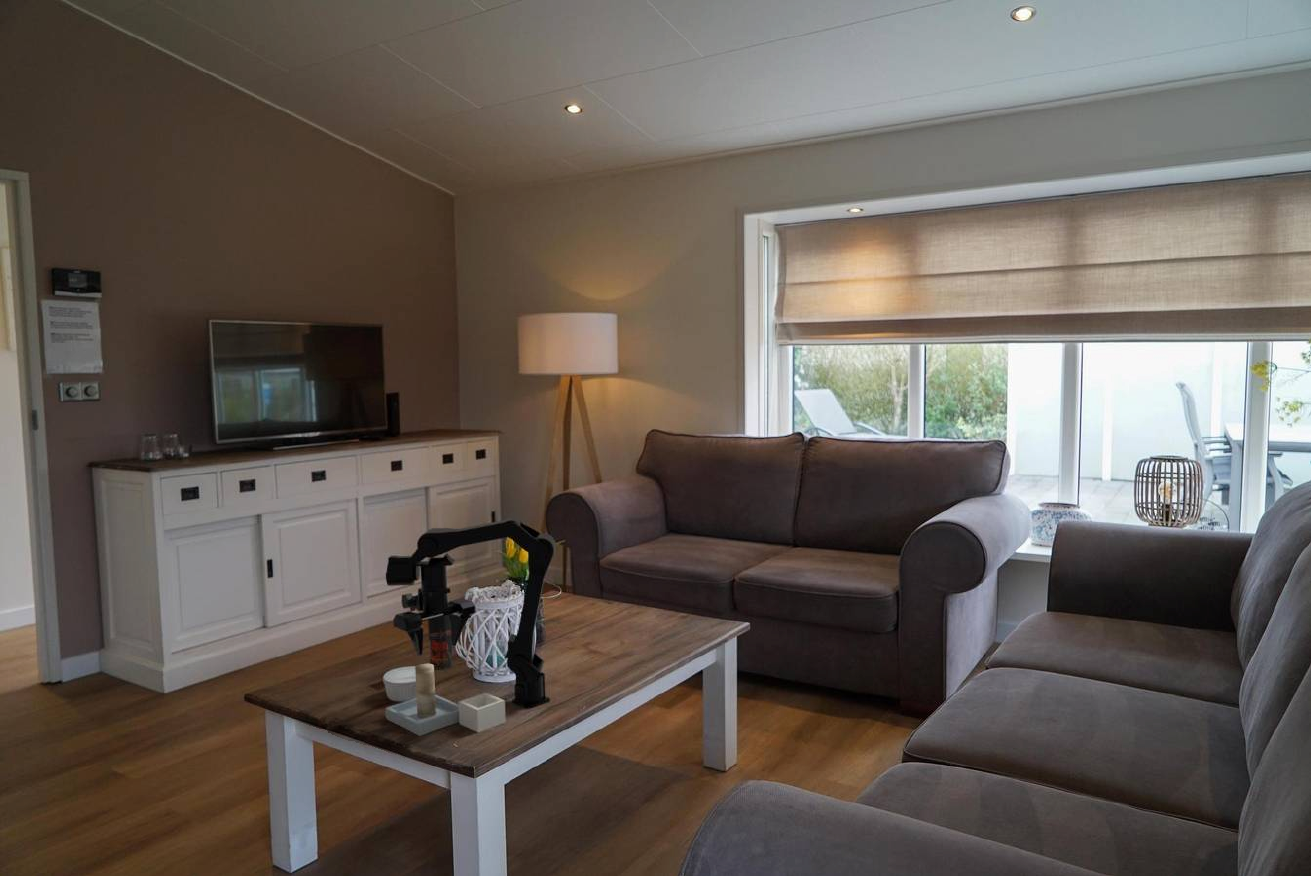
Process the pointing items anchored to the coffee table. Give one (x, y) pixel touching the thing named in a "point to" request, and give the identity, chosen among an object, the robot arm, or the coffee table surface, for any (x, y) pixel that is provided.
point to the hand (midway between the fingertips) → (437, 650)
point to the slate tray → (409, 718)
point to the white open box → (482, 712)
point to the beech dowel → (425, 690)
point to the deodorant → (440, 642)
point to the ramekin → (401, 684)
